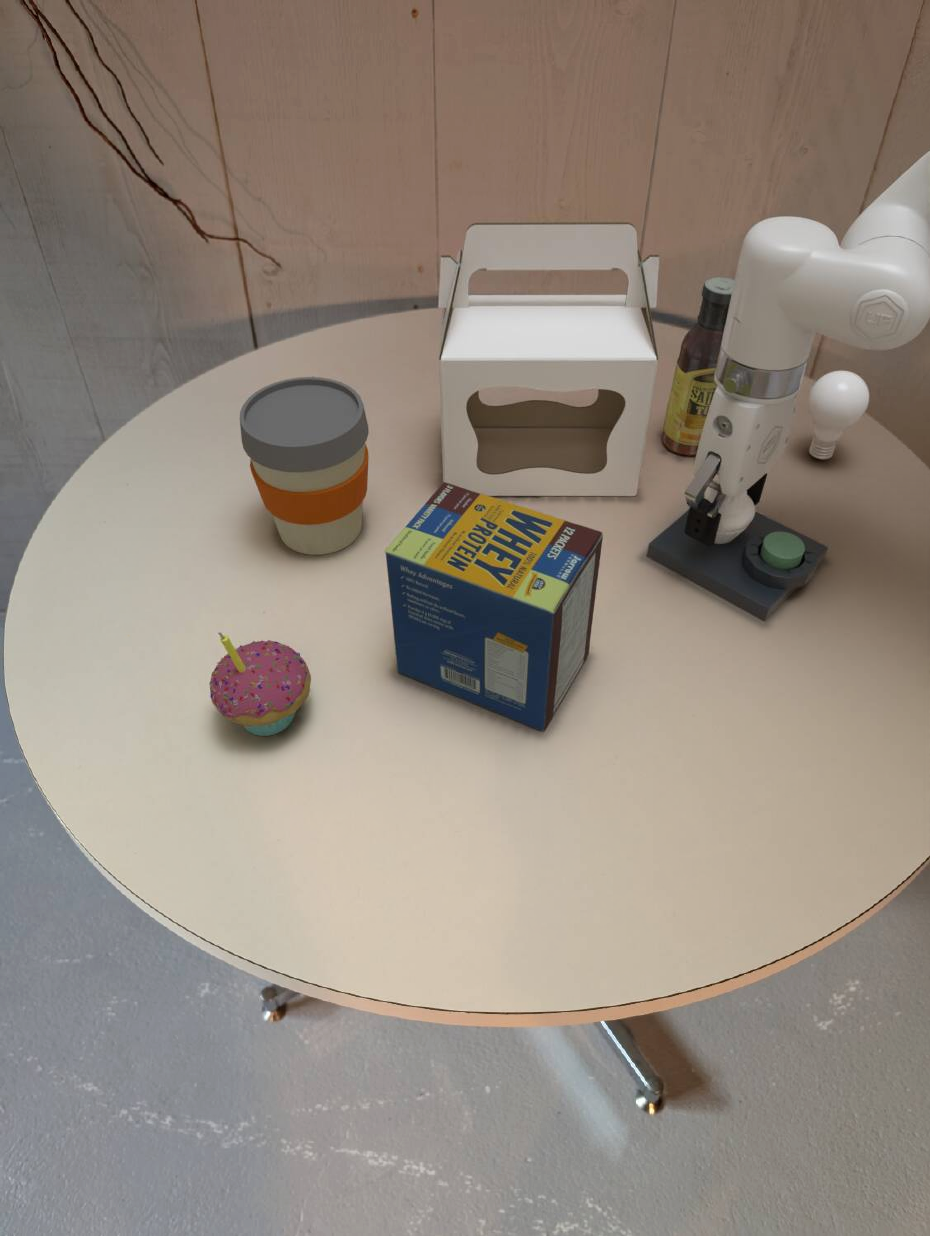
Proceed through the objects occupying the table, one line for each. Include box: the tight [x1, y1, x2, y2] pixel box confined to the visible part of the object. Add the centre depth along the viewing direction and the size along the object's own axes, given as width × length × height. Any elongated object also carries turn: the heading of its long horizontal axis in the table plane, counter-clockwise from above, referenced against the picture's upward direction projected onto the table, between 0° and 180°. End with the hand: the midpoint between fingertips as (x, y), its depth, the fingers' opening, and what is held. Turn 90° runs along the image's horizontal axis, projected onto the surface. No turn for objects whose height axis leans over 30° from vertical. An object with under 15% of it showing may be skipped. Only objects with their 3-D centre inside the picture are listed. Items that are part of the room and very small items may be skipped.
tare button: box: [760, 532, 805, 570], centre depth 90 cm, size 4×4×2 cm
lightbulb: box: [807, 370, 870, 460], centre depth 103 cm, size 6×6×11 cm
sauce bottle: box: [661, 276, 735, 457], centre depth 102 cm, size 7×6×20 cm
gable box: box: [437, 221, 660, 497], centre depth 97 cm, size 22×13×28 cm, turn 89°
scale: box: [646, 509, 829, 622], centre depth 94 cm, size 15×12×4 cm
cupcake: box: [208, 631, 312, 737], centre depth 77 cm, size 9×8×12 cm
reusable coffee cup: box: [239, 376, 370, 556], centre depth 94 cm, size 12×13×15 cm
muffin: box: [704, 478, 756, 544], centre depth 92 cm, size 6×6×7 cm
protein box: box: [384, 482, 604, 732], centre depth 80 cm, size 10×15×16 cm
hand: (722, 517), depth 93 cm, fingers open, 8 cm apart
